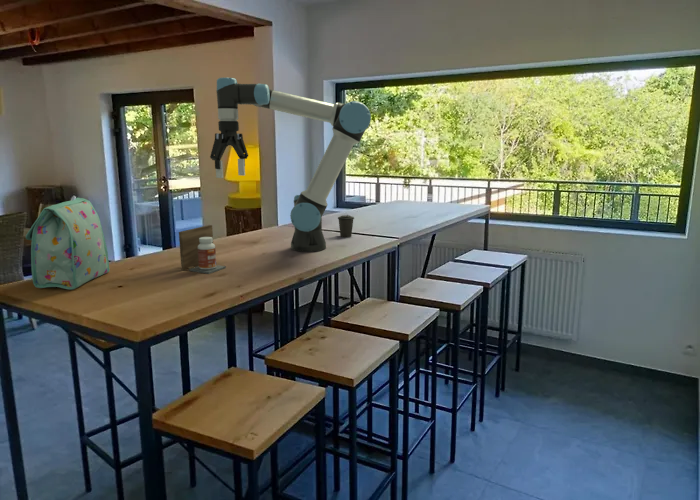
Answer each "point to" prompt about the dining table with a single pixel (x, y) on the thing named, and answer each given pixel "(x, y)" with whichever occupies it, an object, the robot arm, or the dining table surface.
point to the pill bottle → (206, 253)
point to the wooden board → (192, 245)
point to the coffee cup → (345, 225)
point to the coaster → (207, 270)
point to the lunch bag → (67, 245)
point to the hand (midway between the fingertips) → (231, 176)
